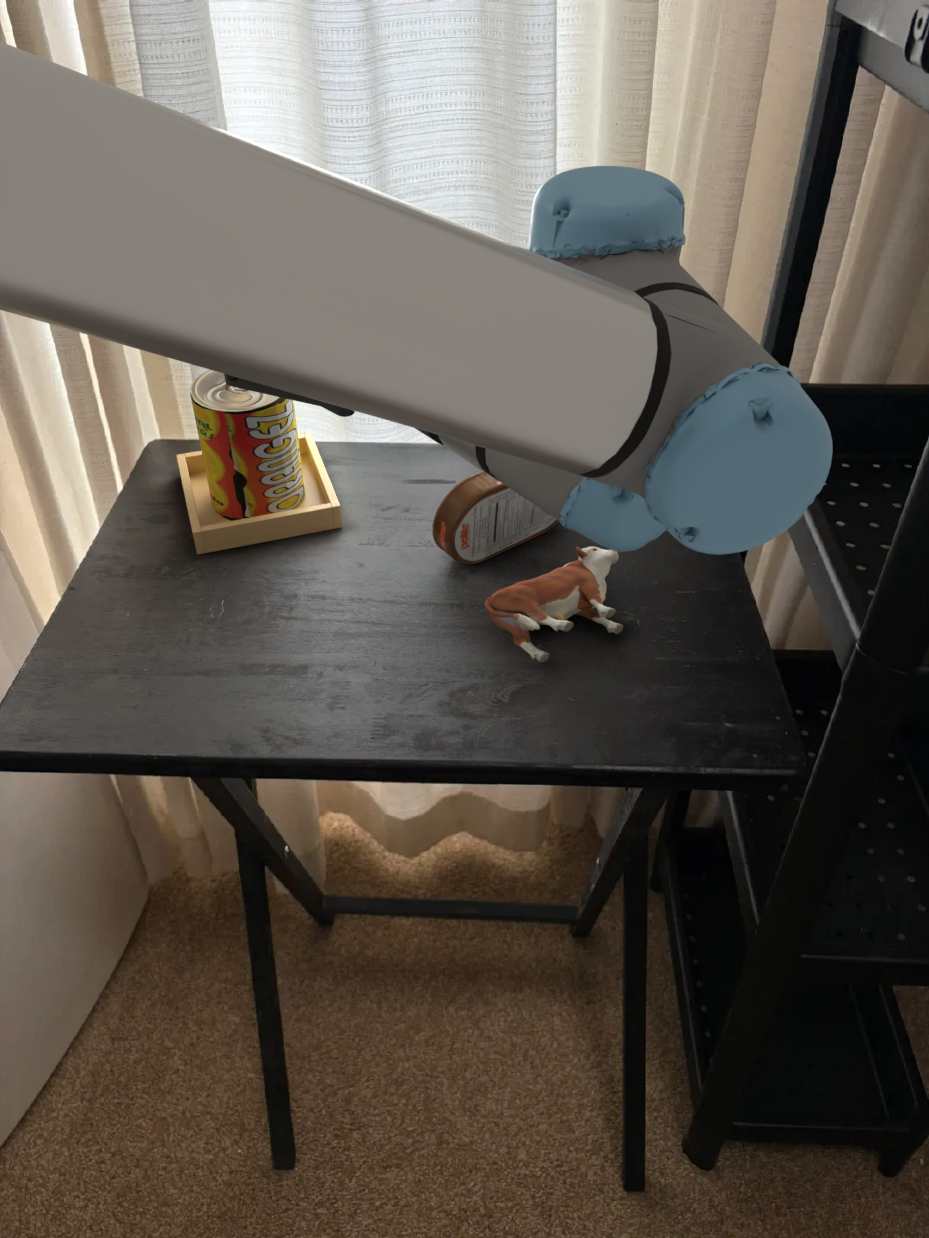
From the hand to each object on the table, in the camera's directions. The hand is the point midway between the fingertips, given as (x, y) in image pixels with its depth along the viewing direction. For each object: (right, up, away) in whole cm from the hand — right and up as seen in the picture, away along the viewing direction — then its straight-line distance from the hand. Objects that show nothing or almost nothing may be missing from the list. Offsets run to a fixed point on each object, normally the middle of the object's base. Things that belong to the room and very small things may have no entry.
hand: (287, 286), depth 78 cm
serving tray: (-7, -13, +24) cm, 28 cm away
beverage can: (-7, -13, +24) cm, 28 cm away
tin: (+17, -18, +19) cm, 31 cm away
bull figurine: (+24, -26, +7) cm, 36 cm away
